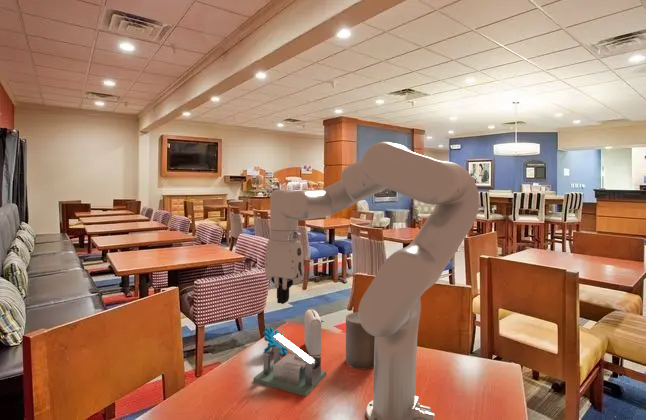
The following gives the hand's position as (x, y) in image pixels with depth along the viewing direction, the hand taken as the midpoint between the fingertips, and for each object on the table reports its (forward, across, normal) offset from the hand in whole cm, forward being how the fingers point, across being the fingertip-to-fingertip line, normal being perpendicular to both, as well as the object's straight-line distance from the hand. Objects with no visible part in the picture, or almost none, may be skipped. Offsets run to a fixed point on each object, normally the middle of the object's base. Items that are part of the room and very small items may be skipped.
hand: (282, 302), depth 105 cm
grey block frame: (+20, -3, 0) cm, 20 cm away
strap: (+13, -4, 0) cm, 14 cm away
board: (+21, -3, 0) cm, 21 cm away
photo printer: (+21, 0, -19) cm, 28 cm away
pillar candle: (+21, -17, -18) cm, 32 cm away
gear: (+22, +9, -12) cm, 26 cm away
